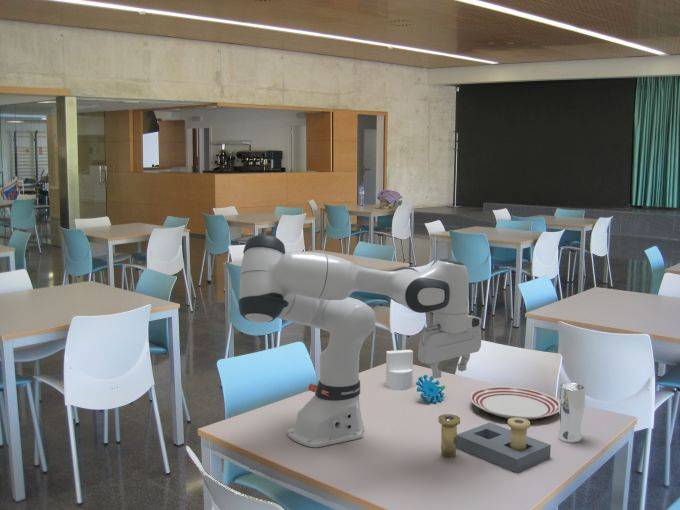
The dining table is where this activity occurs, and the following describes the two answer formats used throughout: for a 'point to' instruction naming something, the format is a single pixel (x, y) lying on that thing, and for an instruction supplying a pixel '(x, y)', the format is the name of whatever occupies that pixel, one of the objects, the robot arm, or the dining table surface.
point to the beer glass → (571, 411)
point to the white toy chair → (399, 369)
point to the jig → (505, 445)
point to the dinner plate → (514, 402)
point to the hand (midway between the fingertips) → (449, 374)
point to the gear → (430, 389)
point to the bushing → (448, 434)
